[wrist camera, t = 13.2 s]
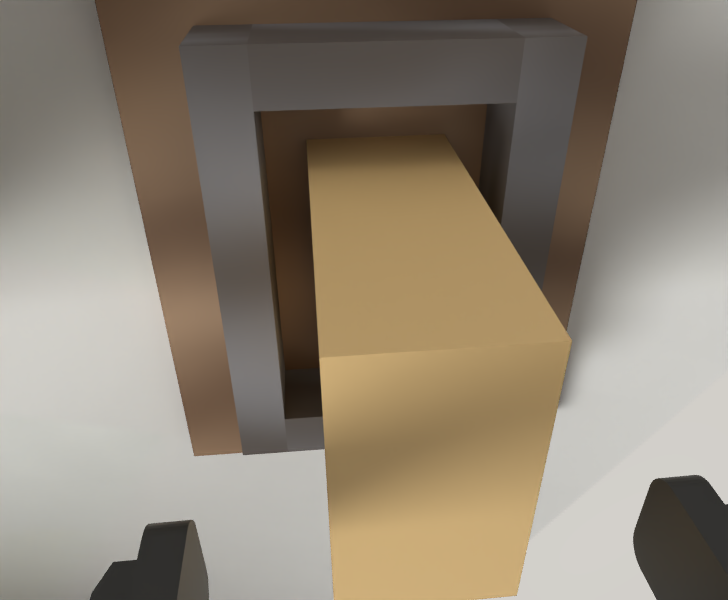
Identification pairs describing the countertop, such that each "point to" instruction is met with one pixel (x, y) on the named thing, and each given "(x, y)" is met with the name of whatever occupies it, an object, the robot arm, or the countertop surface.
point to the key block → (426, 373)
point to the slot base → (330, 121)
